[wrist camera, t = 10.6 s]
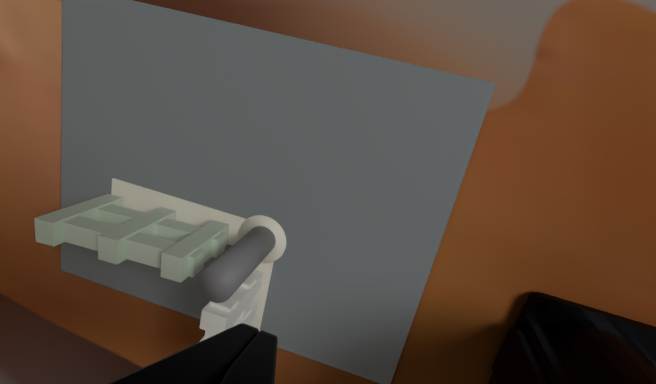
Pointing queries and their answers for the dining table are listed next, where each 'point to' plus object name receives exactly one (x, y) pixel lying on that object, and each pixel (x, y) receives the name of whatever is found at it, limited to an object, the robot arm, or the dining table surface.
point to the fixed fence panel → (234, 282)
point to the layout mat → (269, 166)
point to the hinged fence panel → (135, 235)
